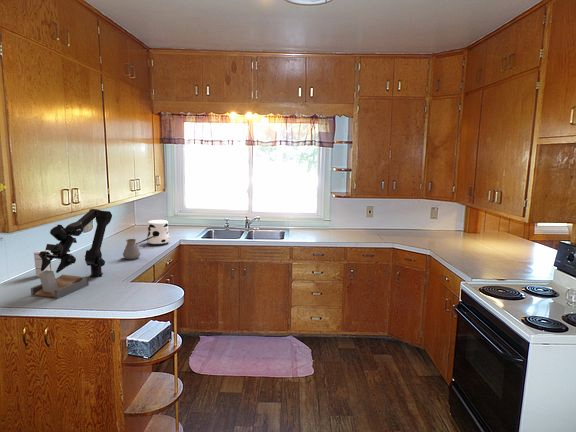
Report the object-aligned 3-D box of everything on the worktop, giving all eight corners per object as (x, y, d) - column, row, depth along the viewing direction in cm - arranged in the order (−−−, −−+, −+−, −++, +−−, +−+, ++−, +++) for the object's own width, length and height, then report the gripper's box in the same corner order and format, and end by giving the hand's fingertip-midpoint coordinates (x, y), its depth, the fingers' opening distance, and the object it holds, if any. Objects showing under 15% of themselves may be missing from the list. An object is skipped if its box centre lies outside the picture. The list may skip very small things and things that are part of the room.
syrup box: (44, 277, 231) (42, 252, 229) (35, 276, 232) (33, 252, 230) (51, 274, 237) (50, 250, 235) (43, 273, 238) (41, 249, 236)
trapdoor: (64, 279, 221) (62, 274, 220) (82, 282, 218) (81, 276, 217) (36, 299, 204) (34, 293, 203) (56, 301, 201) (54, 295, 200)
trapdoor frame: (64, 282, 224) (63, 275, 223) (88, 285, 220) (88, 278, 219) (31, 295, 203) (30, 287, 202) (57, 298, 199) (56, 291, 199)
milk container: (174, 243, 323) (173, 221, 320) (157, 247, 308) (156, 224, 305) (159, 240, 331) (158, 218, 329) (142, 244, 317) (141, 221, 314)
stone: (44, 291, 204) (38, 274, 200) (50, 287, 208) (45, 270, 204) (51, 292, 203) (46, 275, 199) (58, 288, 207) (53, 271, 203)
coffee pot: (122, 260, 269) (121, 239, 266) (123, 256, 280) (122, 235, 277) (155, 258, 276) (155, 237, 273) (155, 254, 286) (155, 234, 284)
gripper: (40, 236, 208) (23, 262, 199) (70, 238, 203) (54, 265, 195) (53, 247, 217) (37, 272, 208) (82, 250, 212) (68, 276, 203)
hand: (49, 271), depth 203 cm, fingers open, 9 cm apart
